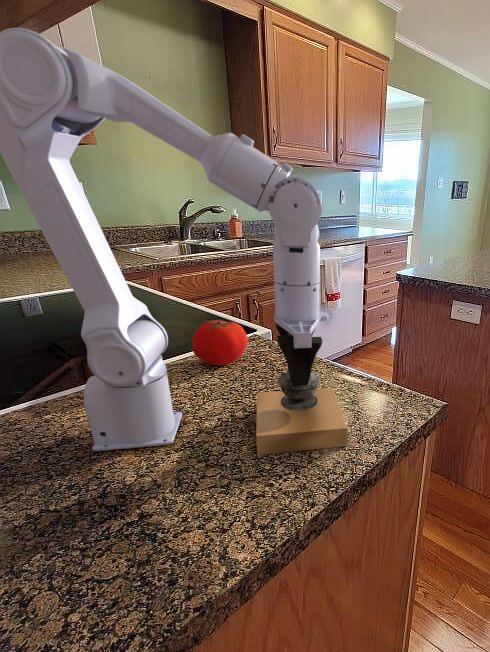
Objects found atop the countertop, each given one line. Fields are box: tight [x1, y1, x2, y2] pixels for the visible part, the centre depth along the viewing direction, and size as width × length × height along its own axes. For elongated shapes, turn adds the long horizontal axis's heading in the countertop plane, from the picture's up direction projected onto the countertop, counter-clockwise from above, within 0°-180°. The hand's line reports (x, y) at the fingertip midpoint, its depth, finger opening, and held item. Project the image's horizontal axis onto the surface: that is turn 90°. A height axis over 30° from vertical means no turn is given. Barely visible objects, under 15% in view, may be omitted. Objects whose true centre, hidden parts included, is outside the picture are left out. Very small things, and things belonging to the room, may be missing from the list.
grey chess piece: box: [277, 333, 321, 411], centre depth 55 cm, size 6×6×12 cm
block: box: [255, 387, 348, 456], centre depth 58 cm, size 12×12×3 cm
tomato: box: [191, 319, 249, 367], centre depth 77 cm, size 9×10×8 cm
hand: (298, 377), depth 56 cm, fingers closed on grey chess piece, 4 cm apart
